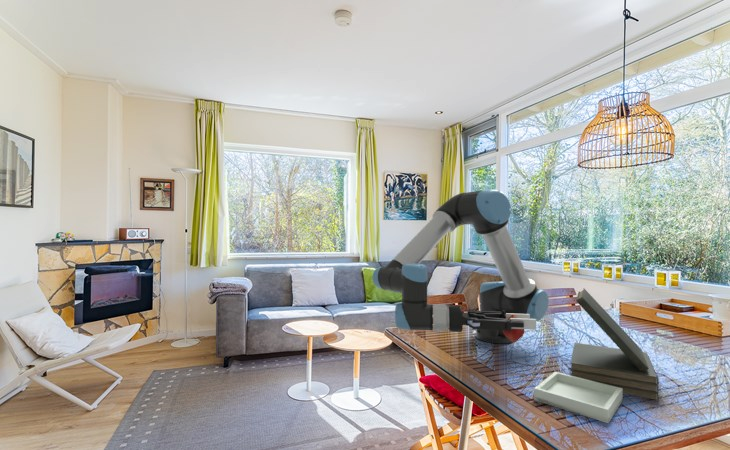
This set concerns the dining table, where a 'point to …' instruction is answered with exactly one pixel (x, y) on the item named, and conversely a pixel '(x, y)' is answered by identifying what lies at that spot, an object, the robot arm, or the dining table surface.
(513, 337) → the onion
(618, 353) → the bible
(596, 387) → the tray
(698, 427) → the dining table surface
